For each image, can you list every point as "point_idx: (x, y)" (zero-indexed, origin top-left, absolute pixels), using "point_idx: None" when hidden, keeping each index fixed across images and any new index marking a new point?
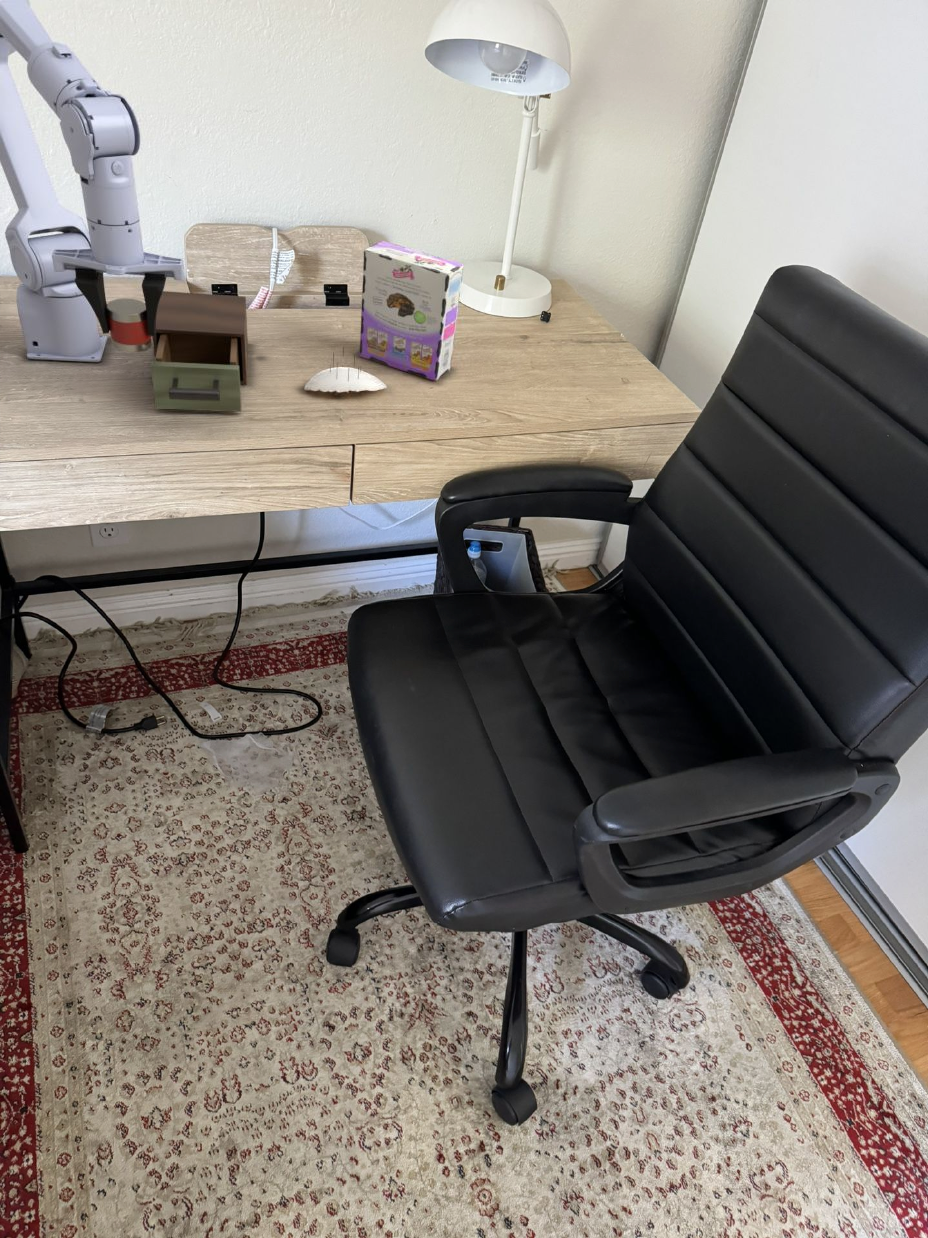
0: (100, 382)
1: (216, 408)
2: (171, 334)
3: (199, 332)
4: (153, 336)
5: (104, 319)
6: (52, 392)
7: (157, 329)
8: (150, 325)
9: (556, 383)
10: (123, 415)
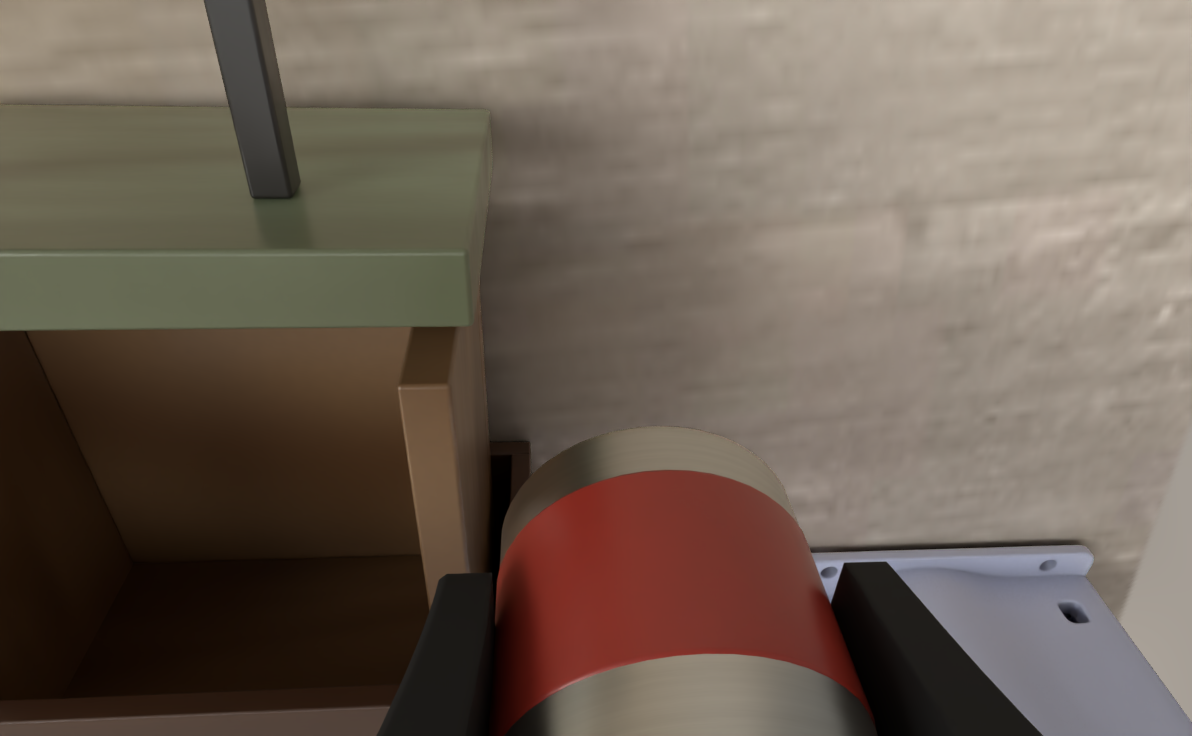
0: (805, 405)
1: (63, 107)
2: None
3: (194, 707)
4: None
5: (921, 670)
6: (1046, 296)
7: None
8: (447, 657)
9: None
10: (692, 62)
